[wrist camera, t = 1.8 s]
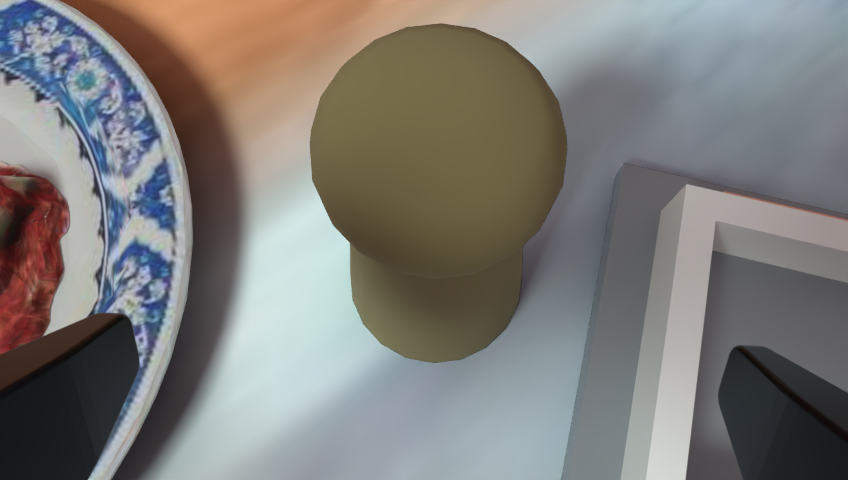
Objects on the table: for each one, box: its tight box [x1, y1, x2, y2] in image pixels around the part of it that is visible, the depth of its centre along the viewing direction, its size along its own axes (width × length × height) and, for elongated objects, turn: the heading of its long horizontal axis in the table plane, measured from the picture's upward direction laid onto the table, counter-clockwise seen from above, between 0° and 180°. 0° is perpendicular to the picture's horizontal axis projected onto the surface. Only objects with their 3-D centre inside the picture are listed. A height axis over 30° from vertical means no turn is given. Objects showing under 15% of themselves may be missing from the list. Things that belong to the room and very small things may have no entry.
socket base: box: [561, 163, 848, 480], centre depth 18 cm, size 13×13×3 cm
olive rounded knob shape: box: [310, 24, 567, 363], centre depth 16 cm, size 6×6×11 cm
